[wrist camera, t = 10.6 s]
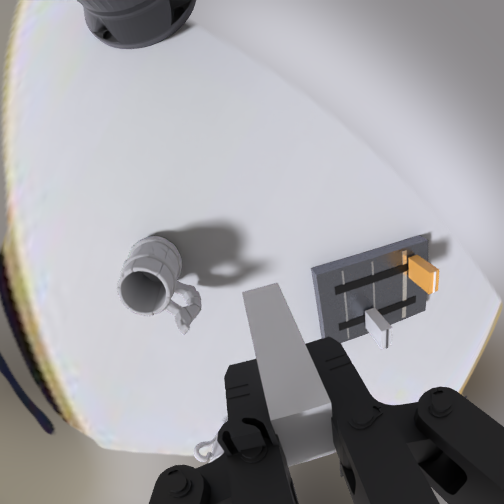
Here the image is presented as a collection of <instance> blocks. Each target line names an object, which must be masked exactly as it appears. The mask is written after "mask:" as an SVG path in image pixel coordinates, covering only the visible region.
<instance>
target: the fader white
mask: <svg viewBox="0 0 504 504" xmlns="http://www.w3.org/2000/svg"><path fill="white" fill-rule="evenodd" d="M365 323H366V329H367V331H368V332H369V333H370V335H371V336H372V337H373V339H374V340H375V341H376V343H377V344H378V345H379V347H380V348H381V349H384V348H388V346H391V344H392V327H391V326H390V324H389V323H388V322H387V321H386V320H385V319H384V317H383V316H382V315H381V314H380V313H379V312H378V311H377V309H376V308H372V309H369V310H366V311H365Z"/></svg>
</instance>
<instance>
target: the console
mask: <svg viewBox="0 0 504 504" xmlns="http://www.w3.org/2000/svg"><path fill="white" fill-rule="evenodd" d="M415 255H418V256H420V257H421V258H423V259H424V260H426V261H427V262H428V240H427V239H425V238H424V237H422V236H420V235H418V236H415V237H412V238H409V239H406V240H403V241H400V242H396V243H393V244H390V245H387V246H384V247H380V248H377V249H374V250H371V251H367V252H364V253H361V254H357V255H354V256H351V257H347V258H344V259H341V260H337V261H334V262H330V263H327V264H324V265H320V266H317V267H313V268H311V271H312V277H313V283H314V289H315V295H316V302H317V308H318V315H319V322H320V329H321V336H322V339H323V338H326V337H329V336H330V337H332V338H333V339H335V340H336V341H338V342H339V343H342V342H345V341H348V340H351V339H354V338H356V337H359V336H362V335H365V334H367V333H369V332H368V331H367V329H366V323H365V311H366V310H369V309H372V308H376V309H377V311H378V312H379V313H380V314H381V315H382V316H383V317H384V319H385V320H386V321H387V322H388V323H389V324H390V325H391V324H393V323H396V322H398V321H401V320H403V319H406V318H408V317H411V316H413V315H415V314H418V313H420V312H422V311H425V308H426V294H427V292H426V291H424V290H423V289H422V288H421V287H420V286H418V285H417V284H416V283H415V282H413V281H412V280H411V279H410V278H409V259H408V258H409V257H412V256H415Z"/></svg>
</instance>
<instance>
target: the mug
mask: <svg viewBox="0 0 504 504" xmlns="http://www.w3.org/2000/svg"><path fill="white" fill-rule="evenodd" d="M181 269H182V259H181V256H180V253H179V251H178V249H177V248H176V246H175V245H174V244H173V243H170V242H169V241H168V240H167V239H166V238H163V237H159V236H151V237H147V238H144V239H141V240H140V241H138V242H137V243H136V244H135V245H133V246H132V248H131V250H130V252H129V255H128V259H127V260H126V261H125V262H124V264H123V267H122V270H121V276H120V278H119V281H118V287H117V292H118V296H119V299H120V301H121V302H122V304H123V305H124V306H125V307H126V308H128V309H129V308H130V311H131V312H133V313H135V314H138V315H142V316H152V315H154V314H158V313H160V312H162V311H163V310H166V311H167V312H169V313H170V314H172V315H174V316H175V322H176V324H177V327H178V330H179V331H180V332H181V333H182V334H183V335H185V334H186V333H187V332H188V330H189V328H190V327H189V326H190V324H191V322H192V321H193V320H194V319H195V318H196V316H197V315H198V314H199V312H200V311H201V297H200V294H199V292H198V291H196V289H195V287H194V286H192V285H186V284H183V283H180V282H179V281H177V280H178V278H179V276H180V274H181ZM174 292H176V293H178V294H180V295H182V296H183V299H184V300H185V302H186V304H188V305H187V306H186V307H181V306H179V305H178V304H176V303H175V302H173V301H172V300H171V297H172V296H173V294H174Z"/></svg>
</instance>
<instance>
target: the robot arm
mask: <svg viewBox="0 0 504 504" xmlns="http://www.w3.org/2000/svg"><path fill="white" fill-rule="evenodd" d="M77 1H78V2H80V3H81V4H82V5H83V7H84V14H85V20H86V23H87V26H88V28H89V29H90V31H91V32H92V33H93V34H94V35H95V36H96V37H97V38H98V39H99V40H101V41H102V42H103V43H105V44H107V45H109V46H112V47H115V48H121V49H135V48H142V47H146V46H149V45H152V44H155V43H157V42H160V41H162V40H163V39H165V38H167V37H169V36H170V35H172V34H173V33H174V32H176V31H177V30H178V29H179V28H180V27H181V26H182V25H183V24H184V23H185V22H186V20H187V19H188V18H189V16H190V15H191V13H192V11H193V8H194V6H195V2H196V0H77ZM242 294H243V299H244V303H245V308H246V313H247V317H248V322H249V327H250V331H251V336H252V340H253V345H254V350H255V354H256V359H254V360H250V361H246V362H242V363H238V364H234V365H229V367H228V370H227V372H226V374H225V377H224V380H225V389H226V399H227V411H228V421H227V422H226V423H224V424H223V426H222V427H221V429H220V430H219V432H218V437H217V441H218V443H219V444H220V446H221V448H222V449H223V451H224V453H223V454H222V455H221V456H220V457H219V458H217V459H215V460H214V461H212V462H210V463H207V464H205V465H203V466H201V467H198V468H196V469H195V468H194V467H191V466H187V465H175V466H173V467H170V468H168V469H166V470H165V471H164V472H162V473H161V474H160V476H159V477H158V479H157V481H156V483H155V486H154V489H153V493H152V495H151V499H150V502H149V504H299V503H298V500H297V496H296V492H295V488H294V484H293V481H292V478H291V476H290V472H289V468H288V466H292V465H295V464H299V463H302V462H306V461H310V460H313V459H316V458H320V457H323V456H326V455H329V454H332V453H335V449H336V451H337V454H338V456H339V459H340V474H341V477H342V476H344V478H345V481H346V483H347V486H348V489H349V491H350V494H351V496H352V499H353V502H354V504H439V502H438V500H437V498H436V496H435V495H434V493H433V491H432V489H431V487H432V488H433V489H434V490H435V491H436V492H437V493H438V494H439V495H440V496H441V497H442V498H443V499H444V500H445V501H446V502H447V503H448V504H504V427H503V426H502V425H500V424H499V423H498V422H496V421H495V420H494V419H492V418H491V417H490V416H489V415H487V414H486V413H485V412H483V411H482V410H481V409H479V408H478V407H477V406H475V405H474V404H473V403H471V402H470V401H469V400H467V399H466V398H465V397H463V396H462V395H461V394H459V393H458V392H457V391H455V390H453V389H451V388H447V387H437V388H432V389H430V390H428V391H427V392H425V393H424V394H423V395H422V396H421V397H420V399H419V402H415V403H409V404H403V405H387V404H383V403H381V402H378V401H377V400H376V399H374V398H373V397H372V395H371V394H370V393H369V391H368V389H367V388H366V386H365V384H364V382H363V381H362V379H361V377H360V375H359V374H358V372H357V370H356V369H355V367H354V365H353V364H352V362H351V360H350V358H349V357H348V356H347V353H346V352H345V350H344V348H343V347H342V345H341V343H339V342H338V341H336V340H335V339H333V338H332V337H330V336H329V337H326V338H323V339H319V340H316V341H313V342H310V343H307V344H305V342H304V340H303V338H302V336H301V333H300V331H299V329H298V327H297V325H296V322H295V320H294V318H293V316H292V313H291V311H290V309H289V307H288V305H287V302H286V300H285V298H284V296H283V293H282V291H281V289H280V287H279V285H278V283H274V284H271V285H267V286H264V287H260V288H256V289H253V290H249V291H245V292H242ZM430 486H431V487H430Z"/></svg>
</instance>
